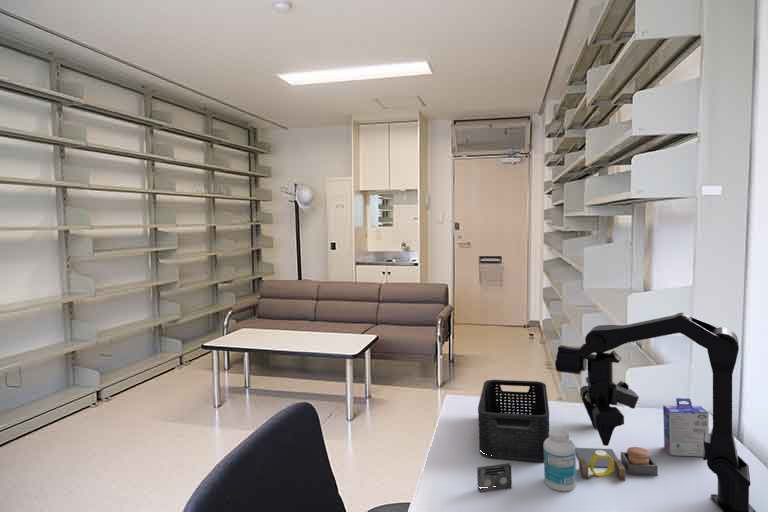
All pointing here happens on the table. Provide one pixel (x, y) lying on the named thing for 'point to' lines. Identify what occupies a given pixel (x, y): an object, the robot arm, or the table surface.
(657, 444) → the table surface
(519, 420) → the storage bin
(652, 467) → the grey square tray
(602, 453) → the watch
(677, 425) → the ink cartridge box
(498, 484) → the mini dv tape
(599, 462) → the slate mat
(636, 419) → the table surface
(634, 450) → the tan domed cylinder
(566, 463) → the pill bottle
